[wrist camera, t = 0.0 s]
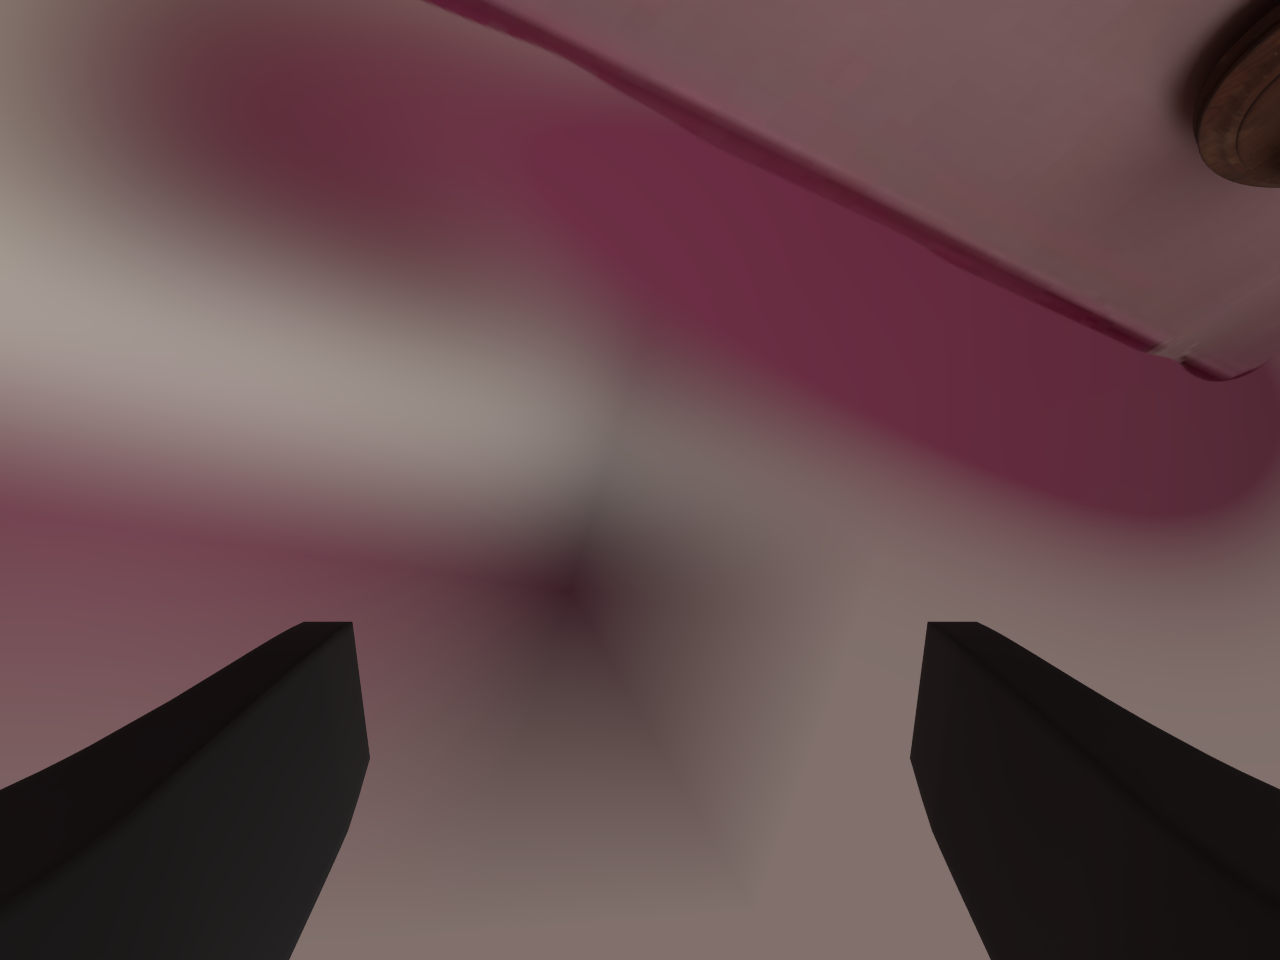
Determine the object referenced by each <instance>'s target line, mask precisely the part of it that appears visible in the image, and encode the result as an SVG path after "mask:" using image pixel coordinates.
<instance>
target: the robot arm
mask: <svg viewBox="0 0 1280 960" xmlns="http://www.w3.org/2000/svg"><path fill="white" fill-rule="evenodd" d="M369 759H370V755H369V747H368V740H367V732H366V724H365V716H364V709H363V701H362V693H361V685H360V678H359V670H358V662H357V654H356V647H355V639H354V631H353V623H352V622H303V623H300V624H298V625H296V626H294V627H292V628H290V629H288V630H286V631H285V632H283V633H281V634H279V635H277V636H276V637H274V638H272V639H271V640H269V641H267V642H265V643H264V644H262V645H261V646H259V647H257V648H255V649H254V650H252V651H251V652H249V653H247V654H246V655H244V656H242V657H241V658H239V659H238V660H236V661H234V662H233V663H231V664H229V665H228V666H226V667H225V668H223V669H221V670H220V671H218V672H216V673H215V674H213V675H211V676H210V677H208V678H206V679H205V680H203V681H202V682H200V683H198V684H197V685H195V686H193V687H192V688H190V689H188V690H187V691H185V692H184V693H182V694H180V695H179V696H177V697H175V698H174V699H172V700H170V701H169V702H167V703H165V704H163V705H162V706H160V707H158V708H156V709H155V710H153V711H151V712H149V713H147V714H146V715H144V716H142V717H140V718H138V719H137V720H135V721H133V722H131V723H129V724H128V725H126V726H124V727H122V728H121V729H119V730H117V731H115V732H113V733H112V734H110V735H108V736H106V737H105V738H103V739H101V740H99V741H98V742H96V743H94V744H92V745H90V746H89V747H87V748H85V749H83V750H81V751H79V752H77V753H75V754H73V755H71V756H69V757H67V758H66V759H64V760H62V761H60V762H58V763H56V764H54V765H52V766H50V767H48V768H46V769H44V770H42V771H40V772H38V773H35V774H33V775H31V776H29V777H27V778H25V779H23V780H20V781H18V782H16V783H14V784H12V785H10V786H8V787H5V788H3V789H1V790H0V960H289V959H290V957H291V955H292V952H293V950H294V948H295V946H296V943H297V942H298V939H299V937H300V935H301V933H302V931H303V929H304V926H305V924H306V922H307V920H308V918H309V916H310V913H311V911H312V909H313V907H314V905H315V902H316V901H317V898H318V896H319V894H320V892H321V890H322V887H323V885H324V883H325V881H326V879H327V876H328V874H329V872H330V870H331V868H332V865H333V863H334V861H335V859H336V857H337V854H338V852H339V850H340V848H341V845H342V843H343V841H344V838H345V836H346V834H347V832H348V829H349V826H350V823H351V819H352V816H353V813H354V810H355V807H356V804H357V801H358V798H359V794H360V791H361V787H362V784H363V780H364V777H365V773H366V770H367V766H368V763H369ZM910 759H911V763H912V766H913V770H914V773H915V777H916V780H917V784H918V787H919V791H920V794H921V798H922V801H923V804H924V807H925V810H926V813H927V816H928V819H929V823H930V826H931V829H932V832H933V834H934V836H935V839H936V841H937V843H938V845H939V848H940V850H941V852H942V854H943V857H944V859H945V861H946V863H947V865H948V867H949V870H950V872H951V874H952V876H953V879H954V881H955V883H956V885H957V887H958V890H959V892H960V894H961V896H962V898H963V901H964V903H965V905H966V907H967V909H968V911H969V913H970V916H971V918H972V920H973V922H974V924H975V926H976V929H977V931H978V933H979V935H980V937H981V939H982V941H983V944H984V946H985V948H986V950H987V952H988V954H989V957H990V959H991V960H1280V789H1278V788H1276V787H1274V786H1271V785H1269V784H1267V783H1265V782H1263V781H1261V780H1258V779H1256V778H1254V777H1252V776H1250V775H1248V774H1246V773H1243V772H1241V771H1239V770H1237V769H1235V768H1233V767H1231V766H1229V765H1227V764H1225V763H1223V762H1221V761H1219V760H1217V759H1215V758H1213V757H1211V756H1209V755H1207V754H1206V753H1204V752H1202V751H1200V750H1198V749H1196V748H1194V747H1193V746H1191V745H1189V744H1187V743H1185V742H1183V741H1181V740H1180V739H1178V738H1176V737H1174V736H1172V735H1170V734H1168V733H1167V732H1165V731H1163V730H1161V729H1159V728H1157V727H1156V726H1154V725H1152V724H1150V723H1148V722H1147V721H1145V720H1143V719H1141V718H1140V717H1138V716H1136V715H1134V714H1133V713H1131V712H1129V711H1127V710H1126V709H1124V708H1122V707H1121V706H1119V705H1117V704H1116V703H1114V702H1112V701H1110V700H1109V699H1107V698H1105V697H1104V696H1102V695H1100V694H1099V693H1097V692H1095V691H1094V690H1092V689H1090V688H1089V687H1087V686H1085V685H1084V684H1082V683H1080V682H1079V681H1077V680H1075V679H1074V678H1072V677H1071V676H1069V675H1067V674H1066V673H1064V672H1062V671H1061V670H1059V669H1058V668H1056V667H1054V666H1053V665H1051V664H1050V663H1048V662H1046V661H1045V660H1043V659H1041V658H1040V657H1038V656H1037V655H1035V654H1033V653H1032V652H1030V651H1028V650H1027V649H1025V648H1023V647H1022V646H1020V645H1018V644H1017V643H1015V642H1013V641H1012V640H1010V639H1008V638H1007V637H1005V636H1003V635H1001V634H1000V633H998V632H996V631H994V630H992V629H990V628H988V627H986V626H984V625H982V624H980V623H978V622H928V623H927V631H926V639H925V647H924V655H923V662H922V670H921V678H920V685H919V693H918V701H917V709H916V716H915V724H914V732H913V740H912V747H911V755H910Z"/></svg>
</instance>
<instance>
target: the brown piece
mask: <svg viewBox="0 0 1280 960" xmlns="http://www.w3.org/2000/svg"><path fill="white" fill-rule="evenodd" d="M1193 131H1194V135H1195V139H1196V142H1197V145H1198V149H1199V153H1200V155H1201V157H1202V159H1203V161H1204V162H1205V163H1206V165H1207V166H1208V167H1209V168H1210V169H1211V170H1212V171H1213V172H1215V173H1216V174H1218V175H1219V176H1221V177H1223V178H1225V179H1228V180H1230V181H1233V182H1236V183H1240V184H1244V185H1249V186H1256V187H1269V188H1280V4H1279V5H1278V6H1276V7H1275V8H1274V9H1273V10H1271V11H1270V12H1269V13H1268V14H1266V15H1265V16H1264V17H1263V18H1262V19H1260V20H1259V21H1258V22H1257V23H1256V24H1255V25H1253V26H1252V27H1251V28H1250V29H1249V30H1248V31H1247V32H1246V33H1245V34H1244V35H1243V36H1242V37H1241V38H1240V39H1239V40H1238V41H1237V42H1236V43H1235V44H1234V45H1233V46H1232V47H1231V48H1230V49H1229V50H1228V52H1227V53H1226V54H1225V55H1224V57H1223V58H1222V59H1221V60H1220V61H1219V63H1218V64H1217V65H1216V67H1215V68H1214V70H1213V71H1212V73H1211V74H1210V75H1209V77H1208V79H1207V81H1206V82H1205V84H1204V86H1203V88H1202V90H1201V92H1200V94H1199V97H1198V99H1197V102H1196V105H1195V109H1194V115H1193Z"/></svg>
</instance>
